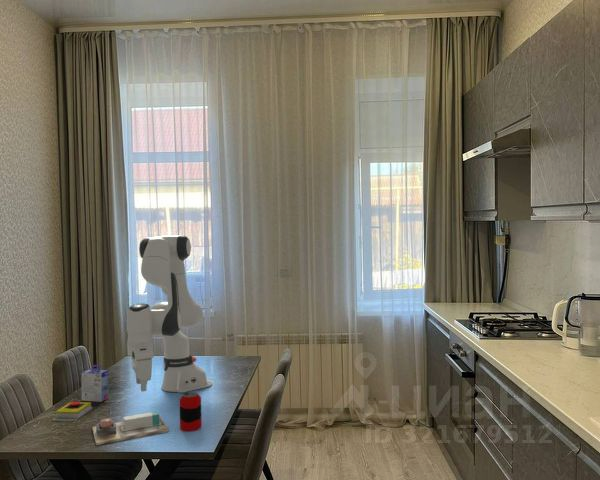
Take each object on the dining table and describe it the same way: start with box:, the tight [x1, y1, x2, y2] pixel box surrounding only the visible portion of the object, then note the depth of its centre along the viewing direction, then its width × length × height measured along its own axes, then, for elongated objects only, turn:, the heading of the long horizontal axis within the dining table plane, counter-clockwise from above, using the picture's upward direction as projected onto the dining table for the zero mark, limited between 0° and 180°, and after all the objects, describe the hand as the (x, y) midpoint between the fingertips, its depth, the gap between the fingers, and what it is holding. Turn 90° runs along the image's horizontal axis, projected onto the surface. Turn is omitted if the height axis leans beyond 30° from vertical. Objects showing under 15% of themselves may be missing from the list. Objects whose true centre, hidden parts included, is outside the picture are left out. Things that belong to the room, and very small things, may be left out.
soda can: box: [179, 391, 202, 432], centre depth 185 cm, size 8×8×12 cm
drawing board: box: [91, 414, 170, 446], centre depth 183 cm, size 24×16×3 cm, turn 117°
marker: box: [122, 411, 160, 430], centre depth 185 cm, size 4×12×4 cm, turn 117°
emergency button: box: [52, 401, 94, 422], centre depth 201 cm, size 9×4×15 cm
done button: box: [99, 418, 113, 429], centre depth 179 cm, size 4×4×3 cm
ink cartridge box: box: [81, 364, 109, 403], centre depth 218 cm, size 10×6×14 cm, turn 78°
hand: (141, 387), depth 185 cm, fingers open, 8 cm apart
